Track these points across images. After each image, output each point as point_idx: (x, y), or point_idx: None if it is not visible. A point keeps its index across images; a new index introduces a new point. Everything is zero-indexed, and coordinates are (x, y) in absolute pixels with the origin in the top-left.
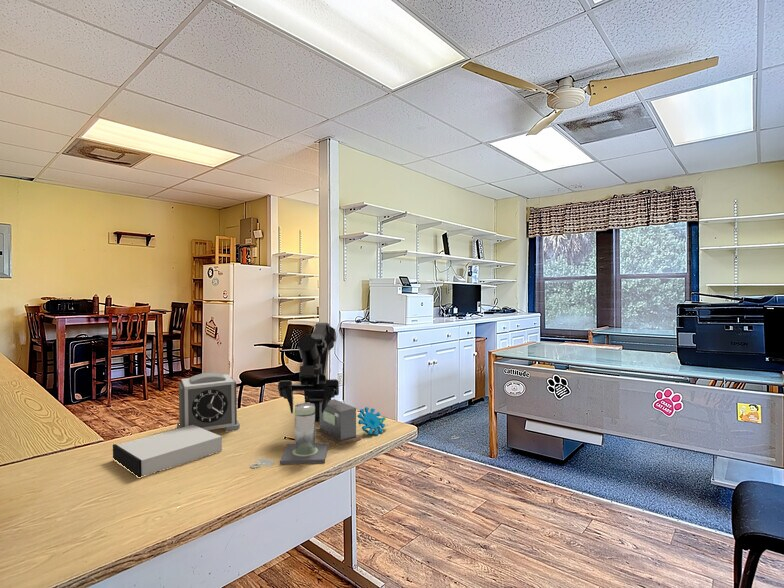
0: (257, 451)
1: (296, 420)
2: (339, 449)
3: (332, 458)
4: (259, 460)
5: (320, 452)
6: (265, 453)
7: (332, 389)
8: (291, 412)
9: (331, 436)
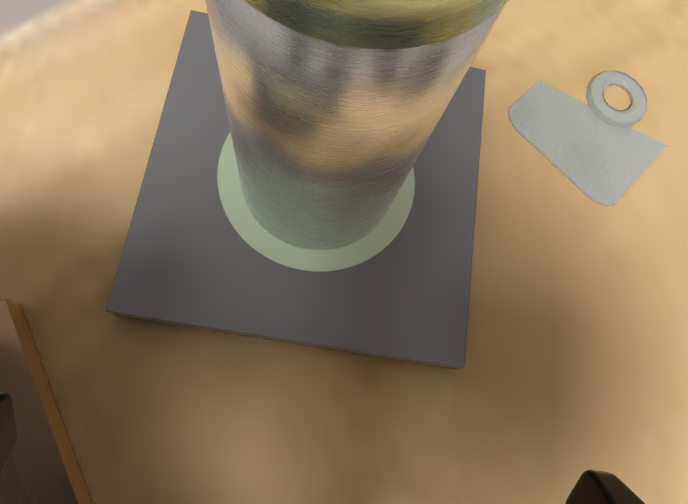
0: (665, 338)
1: None
2: (36, 224)
3: (129, 80)
4: (612, 174)
5: (204, 125)
6: (600, 285)
7: None
8: (591, 481)
9: (35, 485)
